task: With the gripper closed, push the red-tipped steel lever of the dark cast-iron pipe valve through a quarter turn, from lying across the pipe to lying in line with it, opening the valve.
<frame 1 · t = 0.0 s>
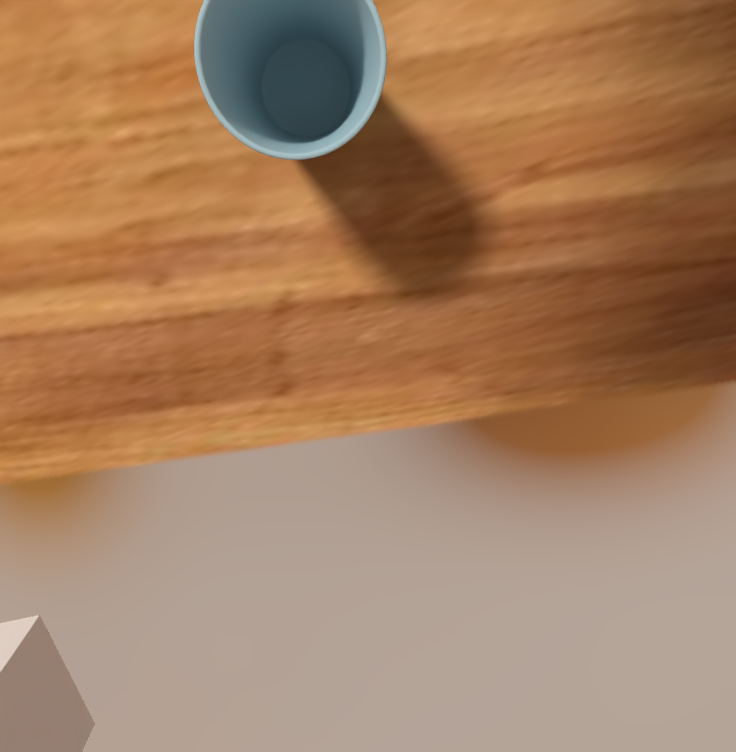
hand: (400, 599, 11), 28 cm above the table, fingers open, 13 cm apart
cup: (307, 91, 34), on the table
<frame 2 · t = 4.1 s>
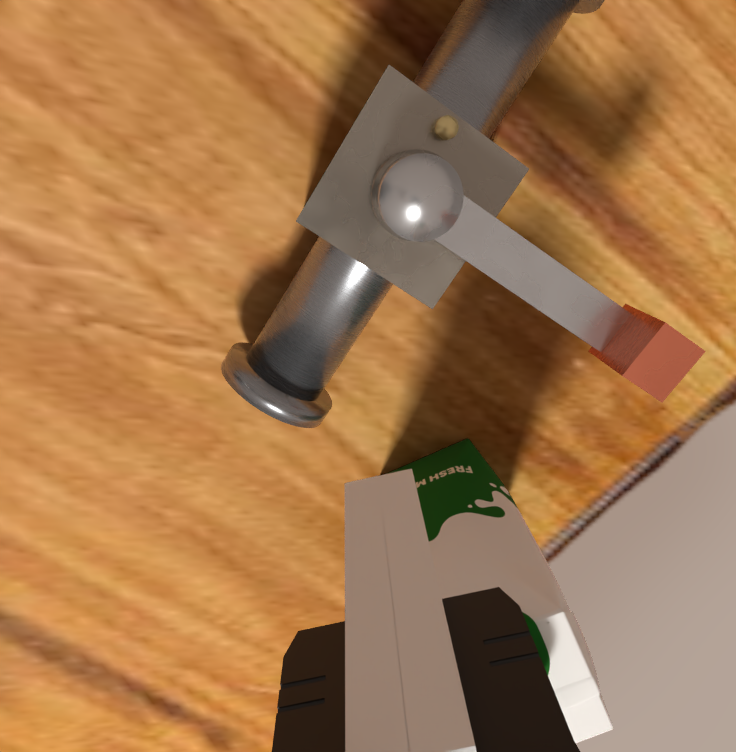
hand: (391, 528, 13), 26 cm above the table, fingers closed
lever: (531, 274, 26), point 12 cm above the table, hinge at 0.0°
valve body: (394, 188, 36), on the table
milk carton: (441, 494, 44), on the table
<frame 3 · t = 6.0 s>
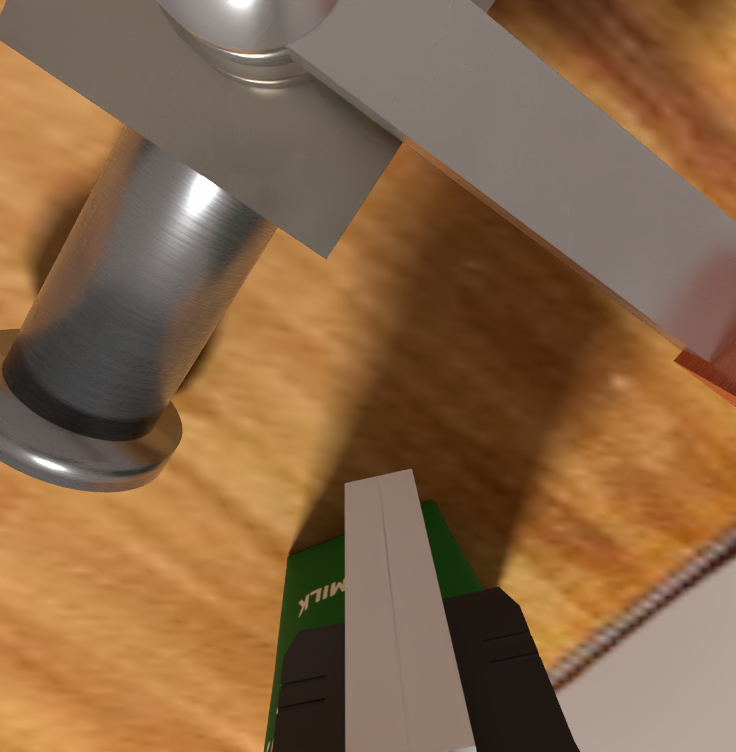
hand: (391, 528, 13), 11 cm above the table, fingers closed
lever: (549, 150, 10), point 12 cm above the table, hinge at 0.0°
valve body: (297, 56, 20), on the table
milk carton: (390, 586, 27), on the table
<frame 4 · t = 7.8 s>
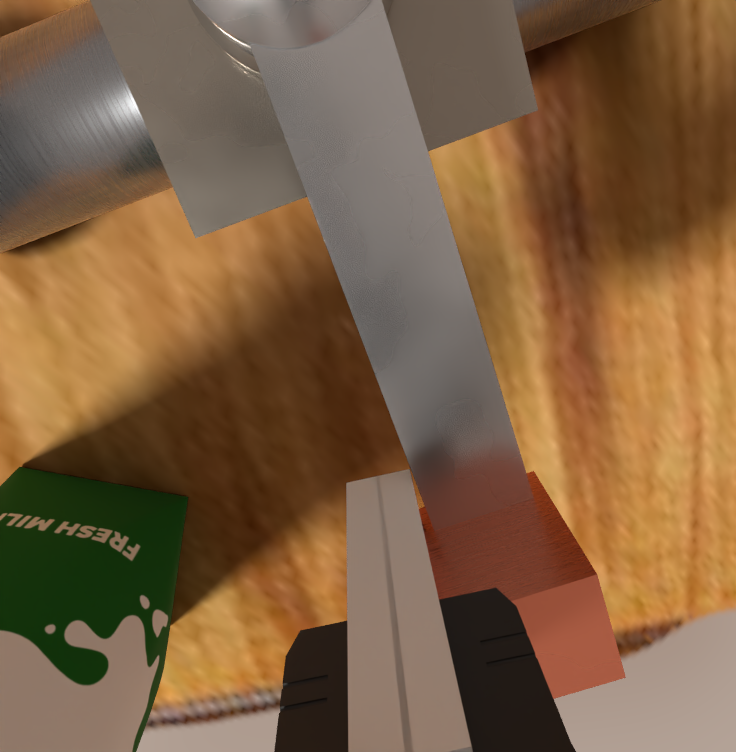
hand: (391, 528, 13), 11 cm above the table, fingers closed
lever: (405, 284, 10), point 12 cm above the table, hinge at 0.4°, touching gripper
valve body: (316, 53, 20), on the table
milk carton: (100, 549, 26), on the table
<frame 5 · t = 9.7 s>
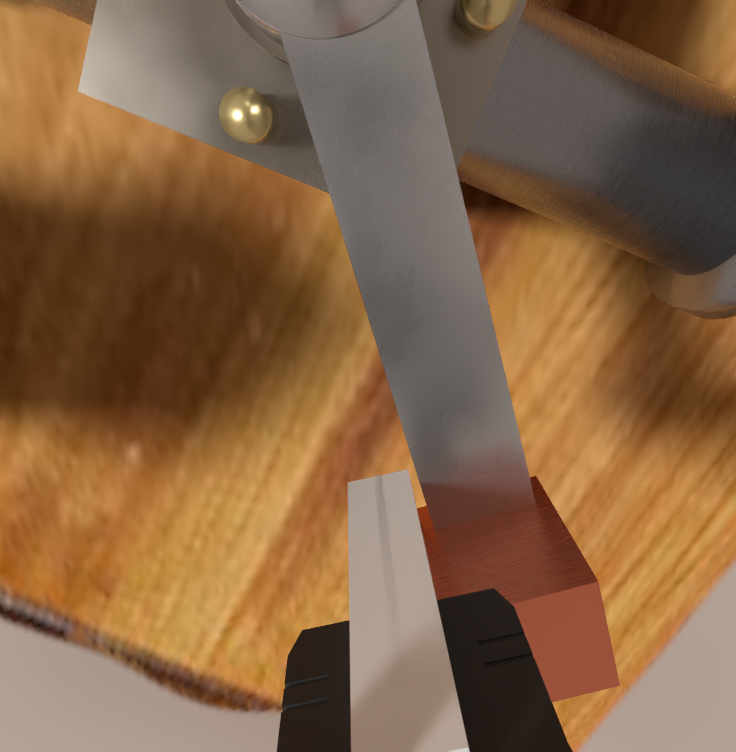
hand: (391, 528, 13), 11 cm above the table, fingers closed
lever: (421, 282, 10), point 12 cm above the table, hinge at 38.4°, touching gripper
valve body: (336, 46, 20), on the table
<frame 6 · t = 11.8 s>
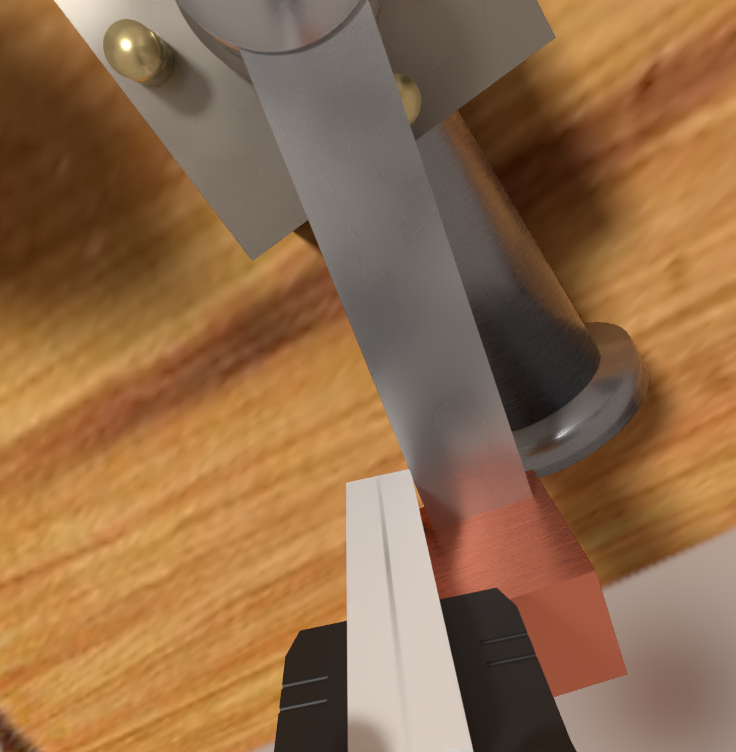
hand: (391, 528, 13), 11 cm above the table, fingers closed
lever: (399, 284, 10), point 12 cm above the table, hinge at 76.1°, touching gripper
valve body: (310, 57, 20), on the table
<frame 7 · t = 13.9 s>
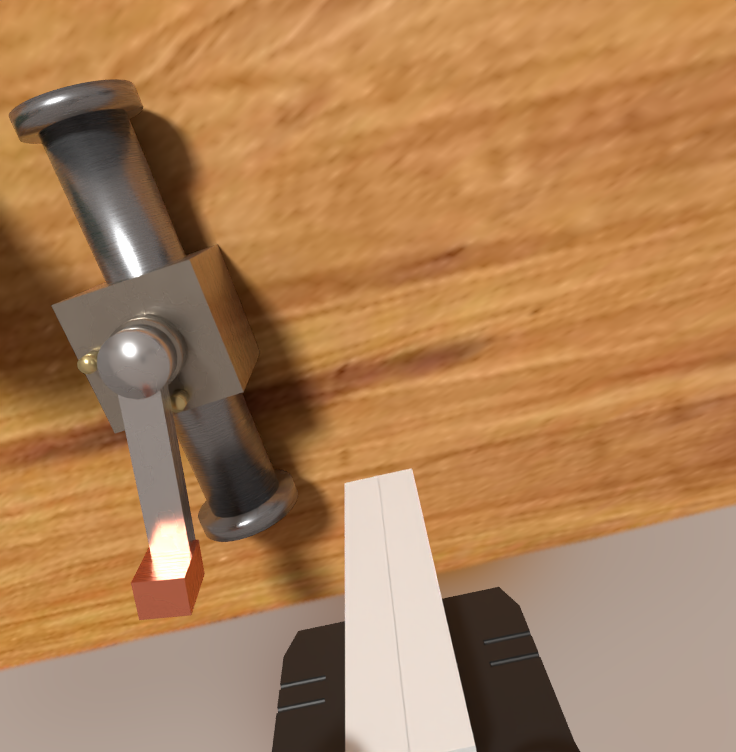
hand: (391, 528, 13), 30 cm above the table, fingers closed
lever: (151, 472, 32), point 12 cm above the table, hinge at 76.1°
valve body: (185, 317, 41), on the table
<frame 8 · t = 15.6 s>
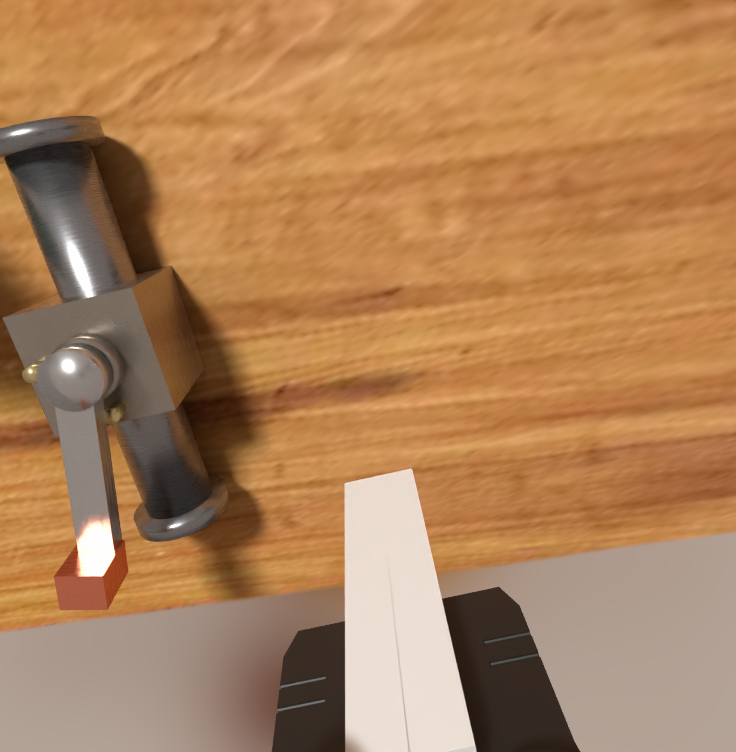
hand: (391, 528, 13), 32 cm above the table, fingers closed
lever: (81, 478, 35), point 12 cm above the table, hinge at 76.1°
valve body: (137, 330, 44), on the table
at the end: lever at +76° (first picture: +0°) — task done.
